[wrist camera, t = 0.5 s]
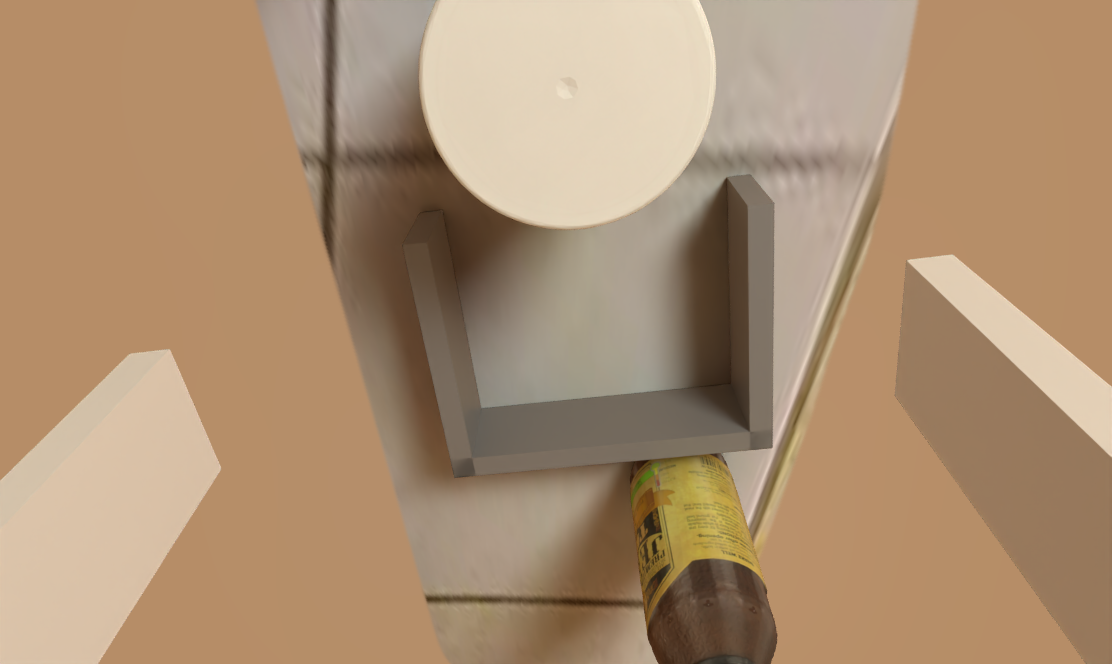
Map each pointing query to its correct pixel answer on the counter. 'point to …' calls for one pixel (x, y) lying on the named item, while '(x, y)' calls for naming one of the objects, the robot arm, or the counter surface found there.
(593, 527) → the counter surface
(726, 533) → the sauce bottle
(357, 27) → the counter surface
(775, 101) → the counter surface
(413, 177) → the counter surface
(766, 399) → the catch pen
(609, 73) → the supplement tub
